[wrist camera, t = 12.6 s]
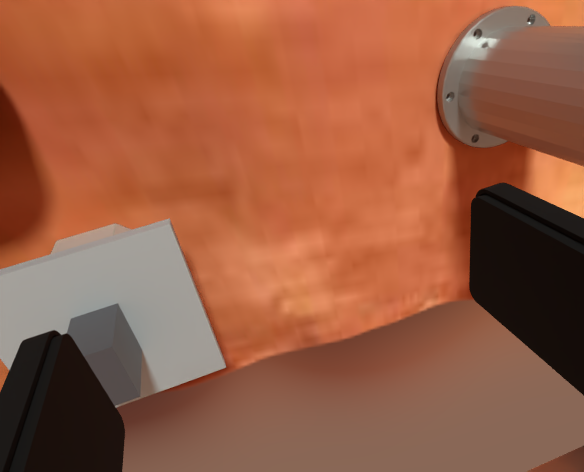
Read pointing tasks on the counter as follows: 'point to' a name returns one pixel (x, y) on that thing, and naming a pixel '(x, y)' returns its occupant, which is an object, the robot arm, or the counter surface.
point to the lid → (116, 311)
